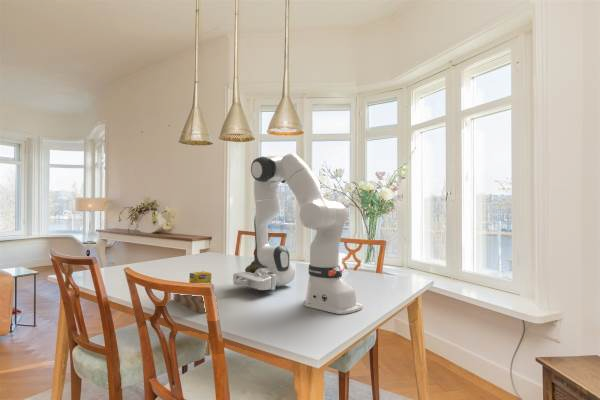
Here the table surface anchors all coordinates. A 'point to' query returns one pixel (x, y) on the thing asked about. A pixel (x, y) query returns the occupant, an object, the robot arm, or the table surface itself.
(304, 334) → the table surface
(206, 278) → the supplement box
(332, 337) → the table surface
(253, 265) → the decorative rock
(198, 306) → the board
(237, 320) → the table surface
